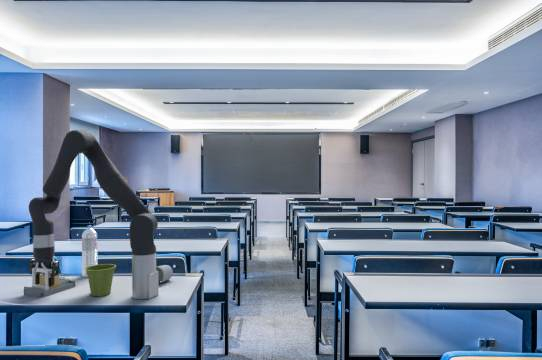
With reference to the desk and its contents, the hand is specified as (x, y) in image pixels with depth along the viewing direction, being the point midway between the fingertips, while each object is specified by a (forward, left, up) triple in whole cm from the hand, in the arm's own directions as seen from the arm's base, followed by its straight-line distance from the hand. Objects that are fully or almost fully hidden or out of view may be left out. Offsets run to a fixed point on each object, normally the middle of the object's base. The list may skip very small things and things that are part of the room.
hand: (44, 285), depth 154 cm
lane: (0, -3, -4) cm, 5 cm away
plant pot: (-23, -7, -4) cm, 24 cm away
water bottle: (+3, -28, -4) cm, 28 cm away
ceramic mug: (-34, -30, -4) cm, 46 cm away
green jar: (0, -7, -3) cm, 8 cm away
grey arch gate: (0, +2, -3) cm, 3 cm away
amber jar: (0, -2, -3) cm, 4 cm away
